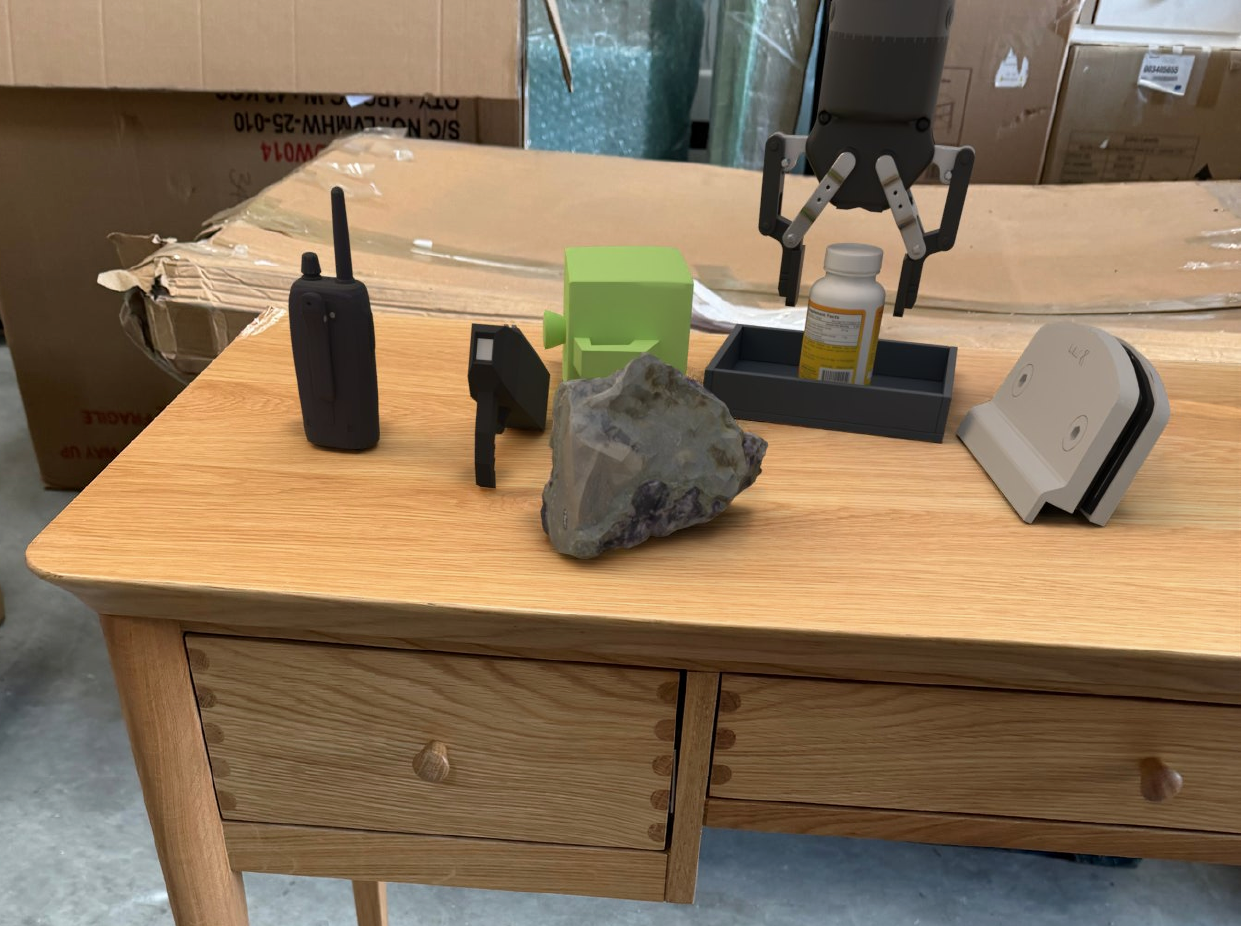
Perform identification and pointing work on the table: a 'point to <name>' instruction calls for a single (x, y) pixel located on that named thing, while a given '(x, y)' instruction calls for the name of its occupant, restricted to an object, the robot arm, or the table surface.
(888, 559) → the table surface
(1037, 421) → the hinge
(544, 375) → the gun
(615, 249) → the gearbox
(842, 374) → the supplement bottle
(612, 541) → the mineral rock
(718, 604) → the table surface
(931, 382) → the tray
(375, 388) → the two-way radio
